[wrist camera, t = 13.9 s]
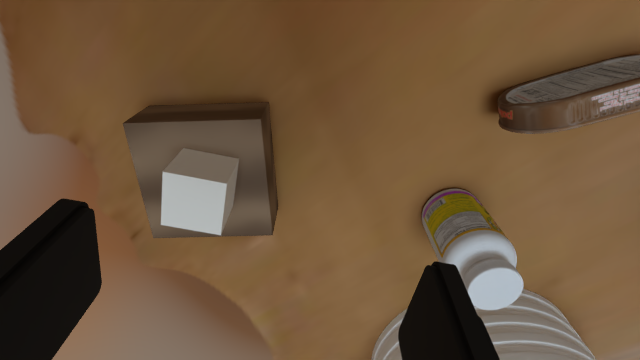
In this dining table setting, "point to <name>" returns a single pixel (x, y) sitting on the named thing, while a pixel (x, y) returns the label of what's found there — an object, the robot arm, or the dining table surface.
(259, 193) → the walnut block
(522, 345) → the plate stack
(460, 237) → the supplement bottle
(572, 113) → the tin
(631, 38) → the dining table surface
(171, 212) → the off-white cube
